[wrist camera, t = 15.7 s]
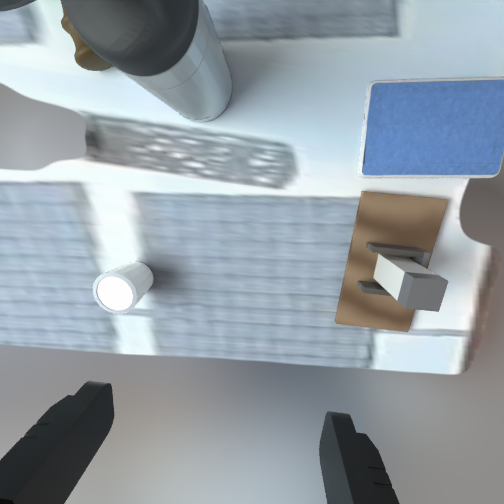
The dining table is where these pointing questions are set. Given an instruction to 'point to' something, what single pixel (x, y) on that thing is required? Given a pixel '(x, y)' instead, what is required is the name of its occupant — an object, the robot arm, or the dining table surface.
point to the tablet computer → (433, 128)
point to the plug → (410, 282)
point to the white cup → (122, 287)
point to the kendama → (83, 49)
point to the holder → (390, 243)
